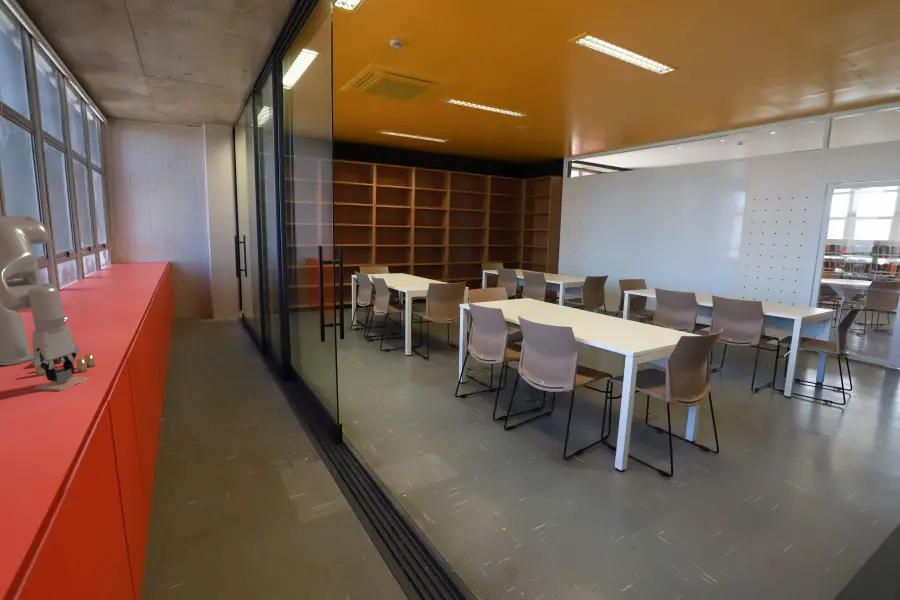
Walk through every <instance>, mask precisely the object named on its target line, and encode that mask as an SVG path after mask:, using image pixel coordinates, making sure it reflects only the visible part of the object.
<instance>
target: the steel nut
mask: <svg viewBox="0 0 900 600" xmlns="http://www.w3.org/2000/svg"><path fill="white" fill-rule="evenodd" d="M55 370H56V376H57V380H55V381H53V380H49V382H60V381H64V380H68V379H70V378H72V377H74V374H72V369H71V368H64V367H61V368H57V369H56V368H55Z"/></svg>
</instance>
